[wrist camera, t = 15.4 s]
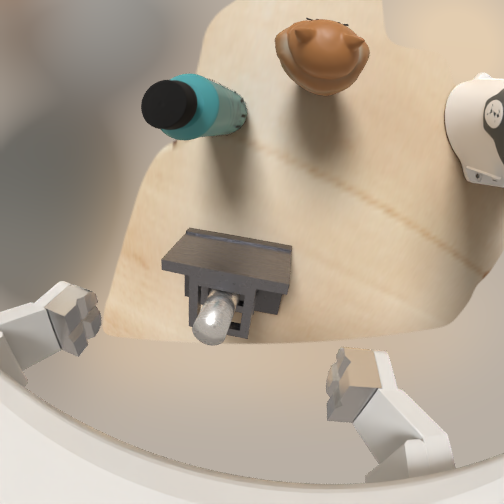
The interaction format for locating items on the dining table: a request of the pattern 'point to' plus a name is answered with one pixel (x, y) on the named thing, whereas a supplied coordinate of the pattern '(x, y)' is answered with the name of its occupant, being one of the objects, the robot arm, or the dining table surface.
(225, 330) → the grey cylinder
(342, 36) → the cat ice cream
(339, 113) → the dining table surface
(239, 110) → the beverage bottle
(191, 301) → the collar stand
